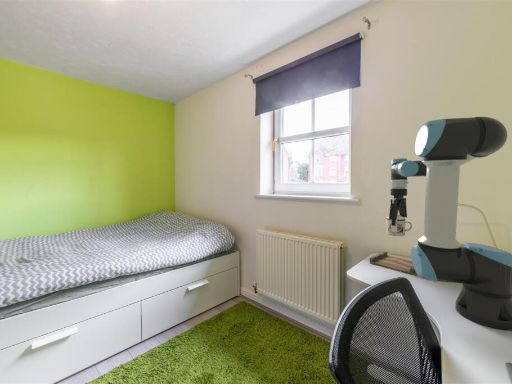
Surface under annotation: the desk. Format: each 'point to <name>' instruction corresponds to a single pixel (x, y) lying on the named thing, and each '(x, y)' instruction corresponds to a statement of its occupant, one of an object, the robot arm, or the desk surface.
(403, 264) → the rail board
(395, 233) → the teacup with lid
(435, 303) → the desk surface
